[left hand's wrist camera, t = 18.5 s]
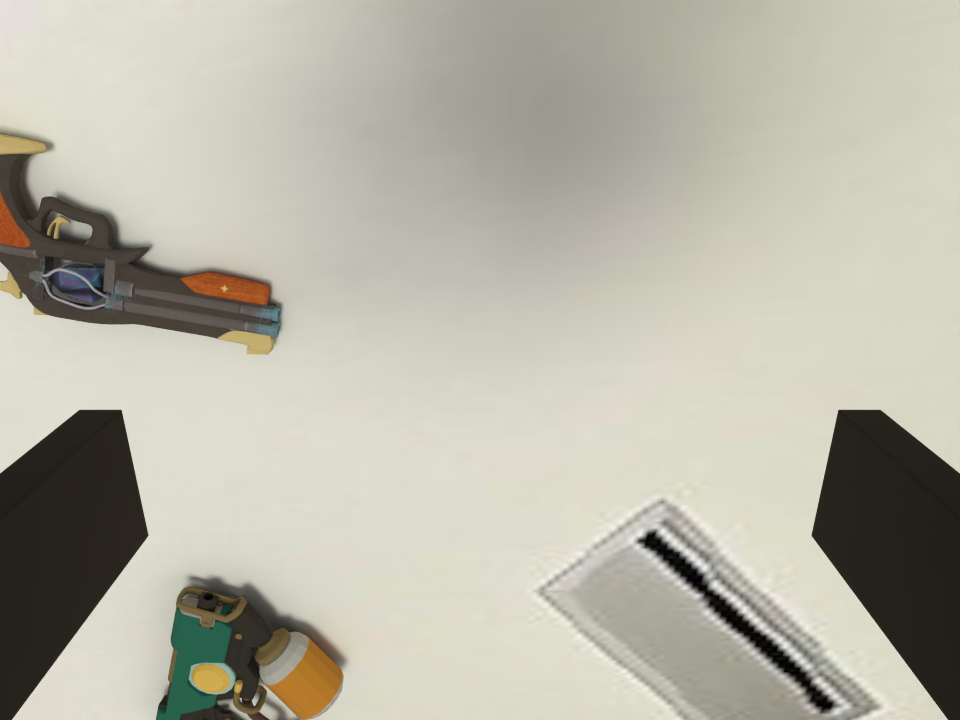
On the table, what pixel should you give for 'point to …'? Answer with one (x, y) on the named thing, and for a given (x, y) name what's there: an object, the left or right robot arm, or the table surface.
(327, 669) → the spray gun
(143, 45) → the table surface
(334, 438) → the table surface
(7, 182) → the toy gun
